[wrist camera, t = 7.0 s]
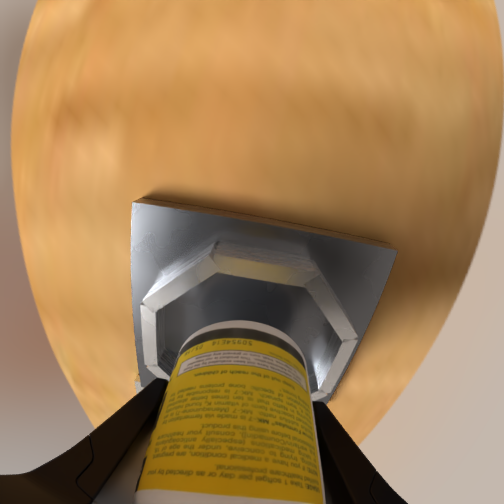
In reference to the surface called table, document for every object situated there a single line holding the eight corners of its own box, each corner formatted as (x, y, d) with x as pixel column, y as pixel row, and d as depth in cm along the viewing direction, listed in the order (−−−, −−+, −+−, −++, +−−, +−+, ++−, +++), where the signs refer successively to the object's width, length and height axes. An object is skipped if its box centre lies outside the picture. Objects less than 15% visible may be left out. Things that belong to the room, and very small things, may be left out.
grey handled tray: (264, 485, 20) (263, 516, 16) (155, 467, 19) (147, 497, 16) (389, 243, 10) (436, 288, 7) (125, 195, 10) (68, 223, 6)
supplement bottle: (159, 326, 9) (66, 555, 1) (294, 302, 9) (333, 604, 1) (205, 408, 11) (175, 579, 3) (311, 394, 10) (334, 583, 3)
